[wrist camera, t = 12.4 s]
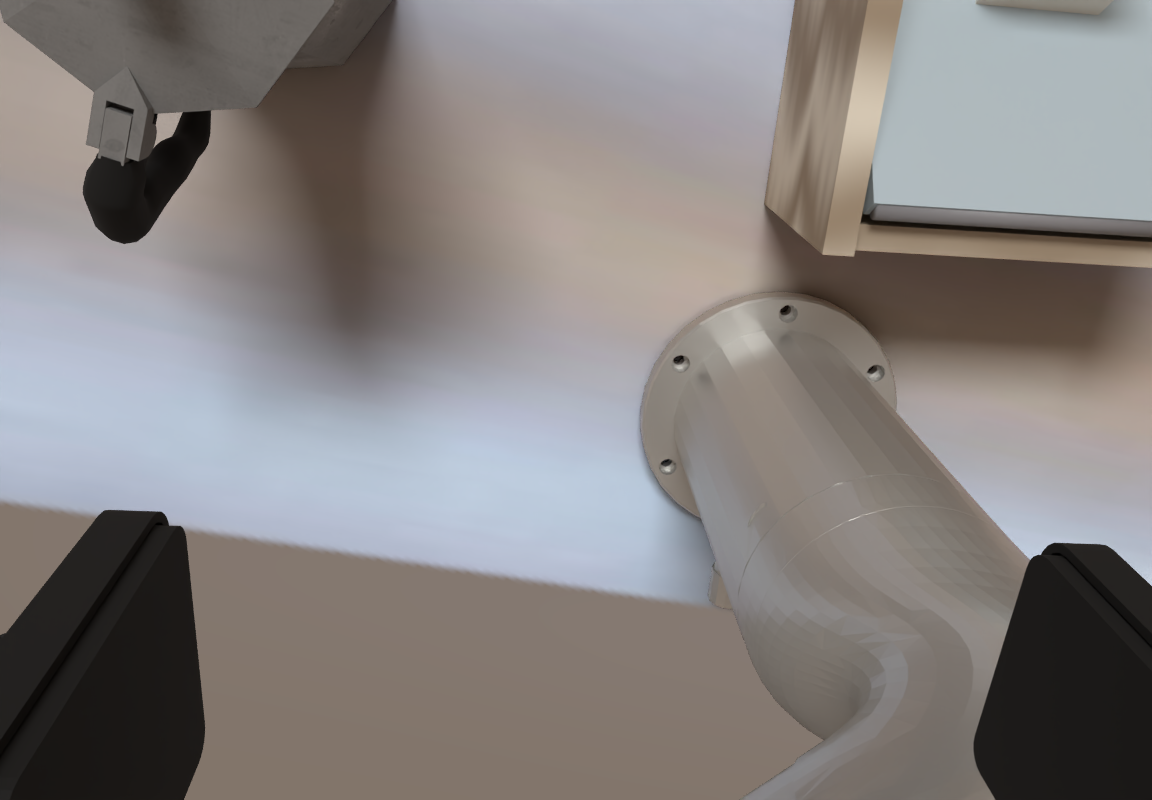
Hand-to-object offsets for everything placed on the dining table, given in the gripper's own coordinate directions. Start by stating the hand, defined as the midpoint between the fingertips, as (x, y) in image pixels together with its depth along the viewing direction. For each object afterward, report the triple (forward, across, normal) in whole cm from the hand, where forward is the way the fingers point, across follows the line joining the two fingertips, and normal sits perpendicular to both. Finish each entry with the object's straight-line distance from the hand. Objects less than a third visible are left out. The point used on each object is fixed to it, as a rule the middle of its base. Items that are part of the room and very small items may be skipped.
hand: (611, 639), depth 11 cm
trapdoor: (+30, -19, -5) cm, 36 cm away
